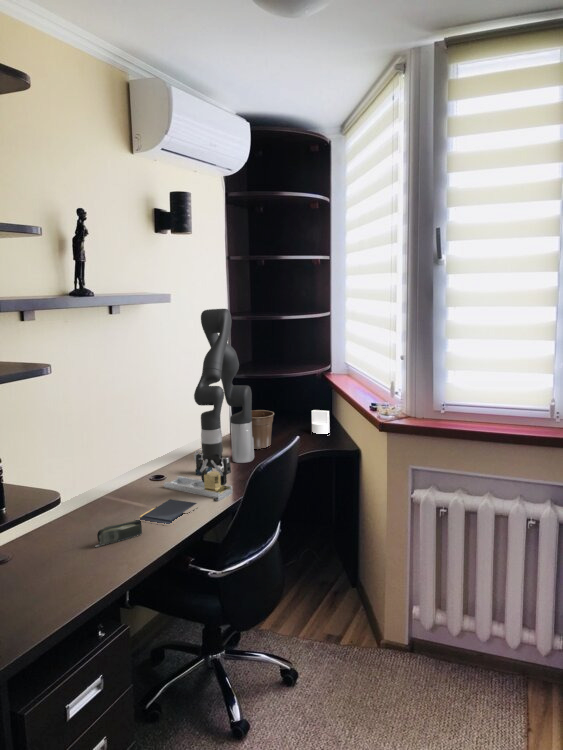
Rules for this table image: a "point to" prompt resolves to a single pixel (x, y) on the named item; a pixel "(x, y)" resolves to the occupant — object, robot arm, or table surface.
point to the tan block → (213, 482)
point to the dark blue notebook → (167, 511)
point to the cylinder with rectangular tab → (320, 422)
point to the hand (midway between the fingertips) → (214, 483)
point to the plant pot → (262, 428)
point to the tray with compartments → (197, 487)
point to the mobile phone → (119, 532)
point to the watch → (199, 464)
